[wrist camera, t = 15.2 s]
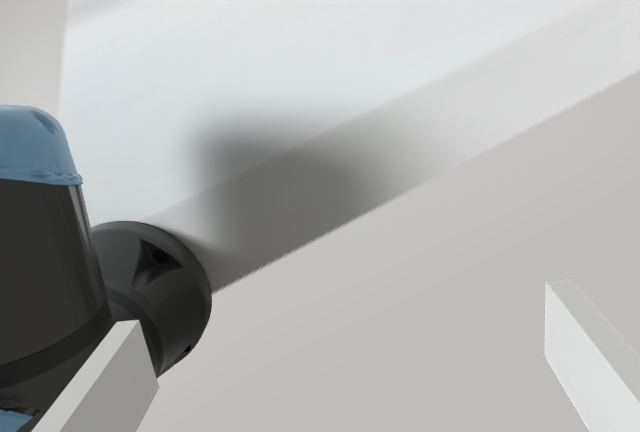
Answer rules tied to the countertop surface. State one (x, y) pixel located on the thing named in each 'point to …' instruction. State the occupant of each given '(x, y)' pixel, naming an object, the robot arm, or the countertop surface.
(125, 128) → the countertop surface
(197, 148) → the countertop surface
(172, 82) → the countertop surface
